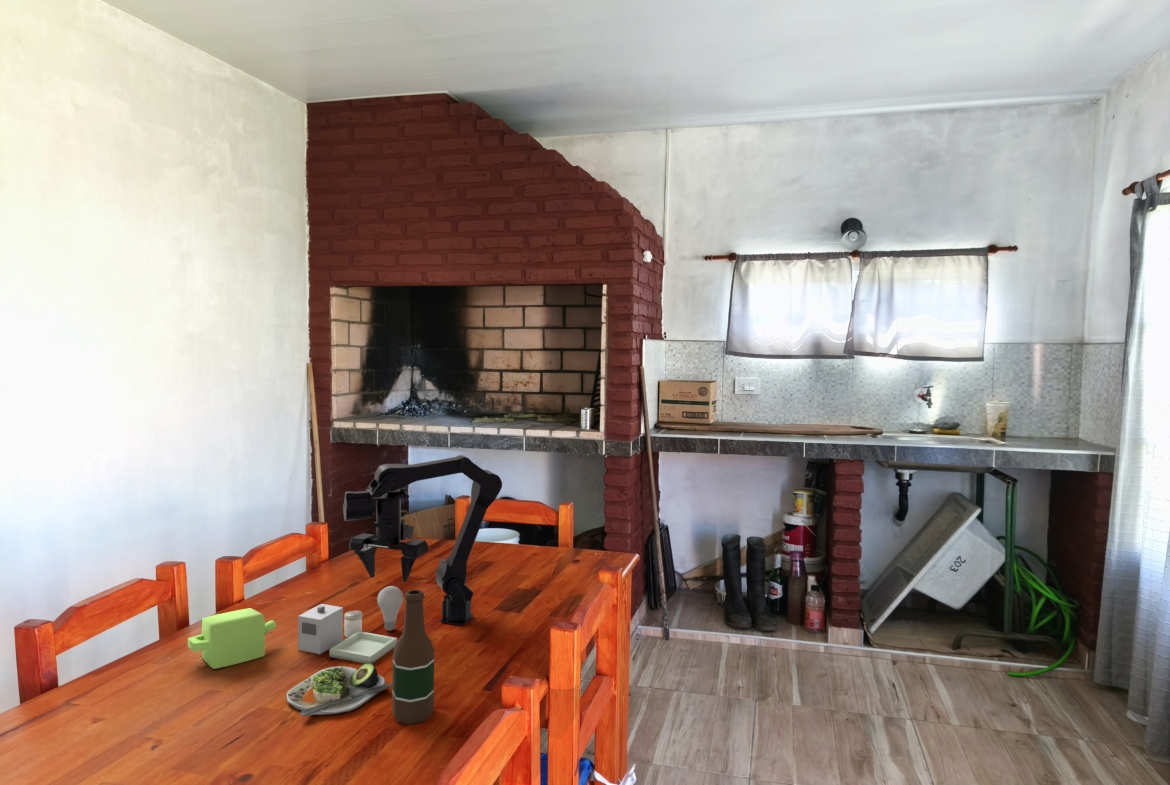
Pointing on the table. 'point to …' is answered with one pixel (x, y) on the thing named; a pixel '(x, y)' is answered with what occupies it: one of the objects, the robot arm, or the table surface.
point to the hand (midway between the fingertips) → (388, 579)
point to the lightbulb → (390, 605)
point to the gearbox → (232, 637)
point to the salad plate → (337, 690)
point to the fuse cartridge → (352, 622)
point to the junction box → (320, 628)
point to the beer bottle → (413, 666)
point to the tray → (363, 647)
